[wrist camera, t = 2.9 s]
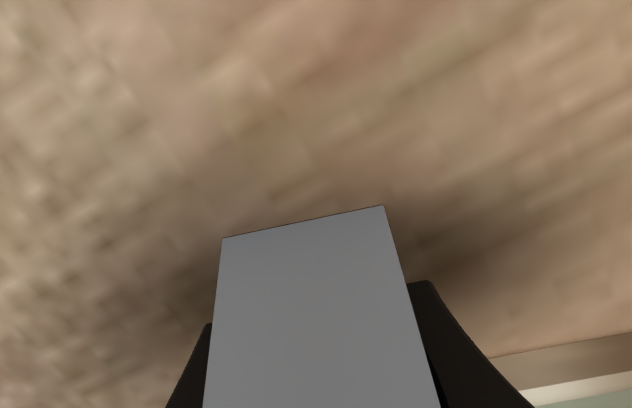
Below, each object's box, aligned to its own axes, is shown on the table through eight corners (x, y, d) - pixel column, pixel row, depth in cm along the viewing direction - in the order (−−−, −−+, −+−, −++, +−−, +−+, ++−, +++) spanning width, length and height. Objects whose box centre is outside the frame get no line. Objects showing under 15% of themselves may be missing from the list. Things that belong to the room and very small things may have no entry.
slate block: (264, 344, 16) (261, 580, 11) (222, 238, 14) (194, 476, 9) (403, 317, 16) (462, 547, 11) (383, 204, 13) (446, 430, 8)
